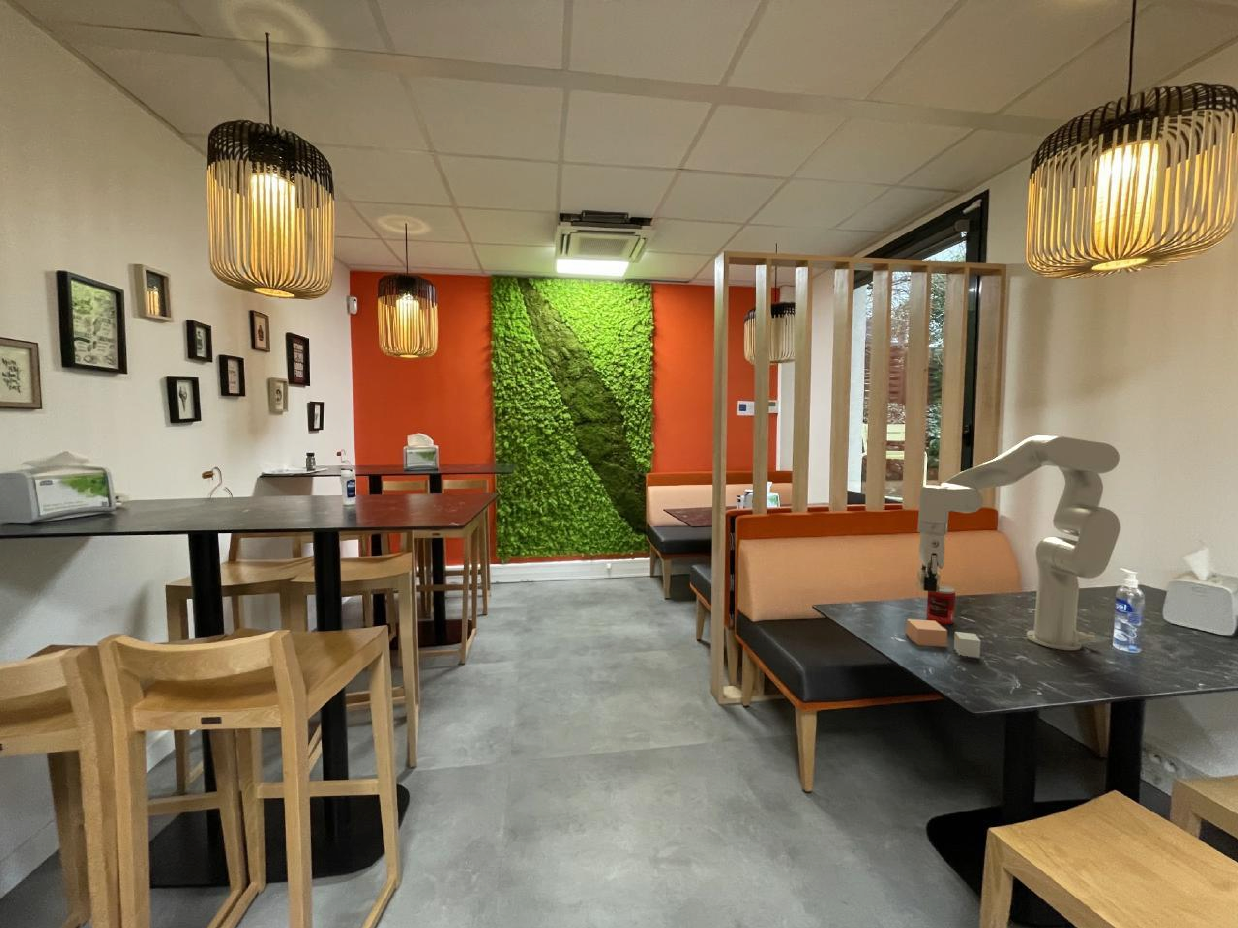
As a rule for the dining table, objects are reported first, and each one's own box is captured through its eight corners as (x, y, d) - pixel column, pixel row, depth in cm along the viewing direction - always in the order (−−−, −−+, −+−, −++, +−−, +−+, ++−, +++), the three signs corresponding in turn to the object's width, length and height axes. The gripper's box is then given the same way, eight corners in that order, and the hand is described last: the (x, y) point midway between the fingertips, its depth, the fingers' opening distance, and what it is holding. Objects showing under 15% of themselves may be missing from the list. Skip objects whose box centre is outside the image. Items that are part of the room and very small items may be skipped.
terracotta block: (934, 636, 162) (935, 620, 161) (946, 647, 154) (947, 630, 153) (906, 634, 163) (907, 618, 162) (916, 645, 155) (917, 628, 154)
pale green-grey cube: (973, 650, 151) (974, 634, 151) (979, 658, 146) (980, 640, 146) (953, 648, 153) (954, 631, 152) (958, 655, 148) (959, 638, 148)
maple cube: (935, 587, 158) (936, 571, 158) (939, 592, 154) (940, 575, 153) (916, 585, 160) (917, 569, 160) (919, 590, 155) (921, 573, 155)
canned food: (945, 616, 178) (947, 584, 177) (958, 625, 170) (960, 592, 169) (921, 615, 179) (923, 583, 178) (933, 624, 171) (935, 591, 170)
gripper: (954, 534, 146) (949, 598, 148) (939, 523, 162) (935, 581, 164) (924, 531, 149) (919, 594, 150) (912, 521, 165) (908, 578, 166)
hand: (927, 587), depth 157 cm, fingers closed on maple cube, 5 cm apart
